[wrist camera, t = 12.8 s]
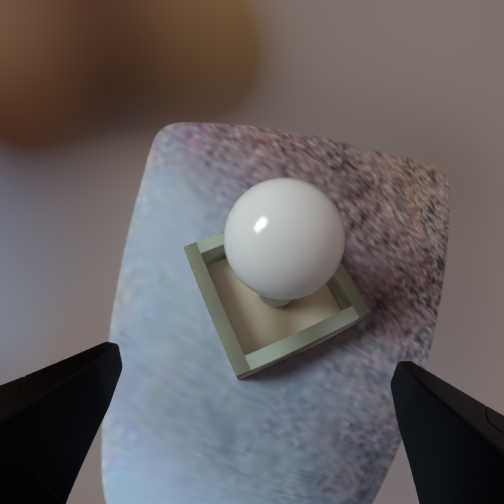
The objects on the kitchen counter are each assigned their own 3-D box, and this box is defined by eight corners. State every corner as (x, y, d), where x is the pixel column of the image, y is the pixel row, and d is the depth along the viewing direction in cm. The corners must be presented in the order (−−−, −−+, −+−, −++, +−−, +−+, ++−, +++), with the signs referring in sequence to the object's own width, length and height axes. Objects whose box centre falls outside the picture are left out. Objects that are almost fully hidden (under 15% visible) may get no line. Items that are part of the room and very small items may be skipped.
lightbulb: (315, 337, 21) (365, 272, 12) (227, 329, 22) (206, 258, 12) (317, 259, 24) (353, 159, 15) (238, 252, 25) (229, 147, 15)
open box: (238, 380, 21) (236, 376, 18) (190, 265, 25) (183, 246, 22) (357, 323, 23) (370, 311, 20) (299, 223, 27) (303, 202, 24)
